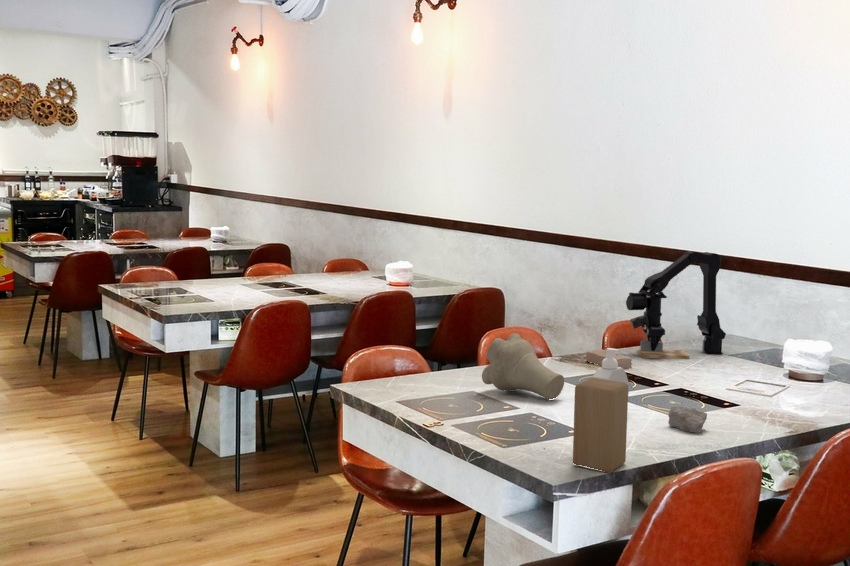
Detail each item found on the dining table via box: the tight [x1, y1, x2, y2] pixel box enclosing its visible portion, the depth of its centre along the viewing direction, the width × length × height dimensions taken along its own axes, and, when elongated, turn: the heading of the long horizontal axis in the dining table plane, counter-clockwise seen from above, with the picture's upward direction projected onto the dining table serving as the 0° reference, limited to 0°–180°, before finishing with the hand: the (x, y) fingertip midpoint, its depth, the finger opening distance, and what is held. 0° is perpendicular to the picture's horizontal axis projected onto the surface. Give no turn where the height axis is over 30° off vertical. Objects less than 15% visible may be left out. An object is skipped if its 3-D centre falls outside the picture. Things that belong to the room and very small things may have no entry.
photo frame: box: [725, 378, 791, 398], centre depth 293 cm, size 15×1×18 cm
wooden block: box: [572, 377, 629, 473], centre depth 212 cm, size 10×10×20 cm
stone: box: [667, 406, 708, 434], centre depth 244 cm, size 10×8×6 cm
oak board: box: [636, 348, 690, 360], centre depth 345 cm, size 18×11×1 cm, turn 86°
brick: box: [585, 348, 633, 370], centre depth 327 cm, size 16×8×5 cm, turn 32°
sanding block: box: [639, 339, 664, 354], centre depth 345 cm, size 8×5×4 cm, turn 80°
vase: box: [481, 332, 565, 401], centre depth 277 cm, size 22×22×28 cm
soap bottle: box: [591, 347, 630, 395], centre depth 255 cm, size 16×5×20 cm, turn 142°
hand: (651, 349), depth 346 cm, fingers closed on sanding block, 5 cm apart
